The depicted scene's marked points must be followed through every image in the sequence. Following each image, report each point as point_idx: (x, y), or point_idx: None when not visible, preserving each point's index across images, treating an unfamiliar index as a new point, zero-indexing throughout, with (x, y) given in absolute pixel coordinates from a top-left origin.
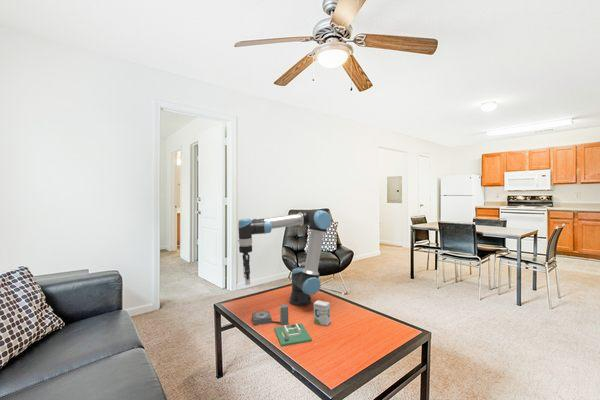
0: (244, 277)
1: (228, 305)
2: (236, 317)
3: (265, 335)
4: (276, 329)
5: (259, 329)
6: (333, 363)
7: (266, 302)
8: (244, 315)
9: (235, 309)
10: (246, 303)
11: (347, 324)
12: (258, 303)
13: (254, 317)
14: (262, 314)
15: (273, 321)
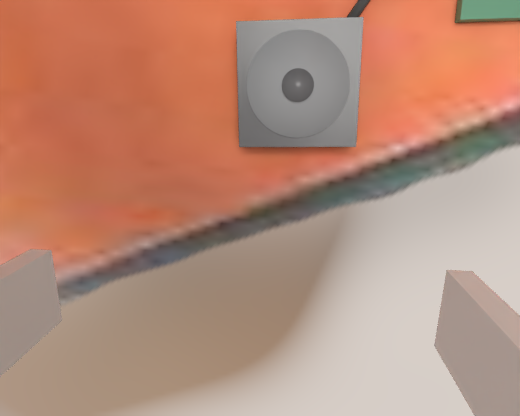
0: (56, 314)
1: None
2: (208, 233)
3: (507, 93)
4: (494, 7)
5: (414, 119)
6: None
7: (16, 10)
8: (194, 186)
9: (95, 230)
10: (15, 155)
11: None
12: (26, 74)
13: (313, 139)
14: (301, 78)
15: (361, 8)
